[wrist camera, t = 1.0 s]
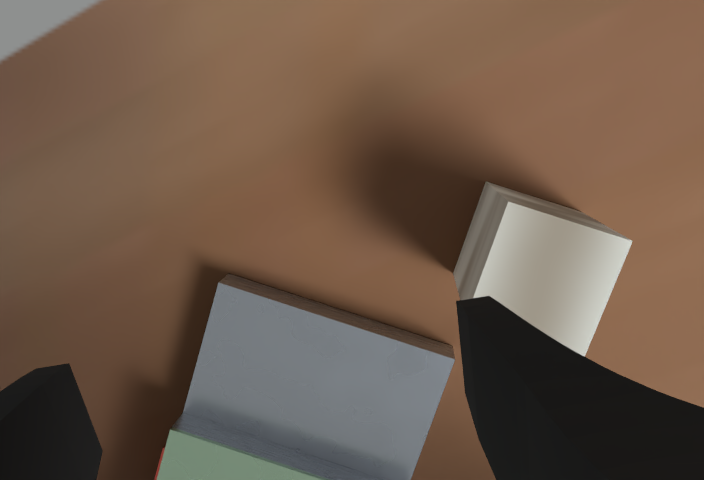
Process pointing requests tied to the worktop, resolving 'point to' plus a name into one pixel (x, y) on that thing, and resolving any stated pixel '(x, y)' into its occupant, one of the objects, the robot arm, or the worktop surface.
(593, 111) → the worktop surface
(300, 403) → the stepped stand
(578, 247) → the column block
